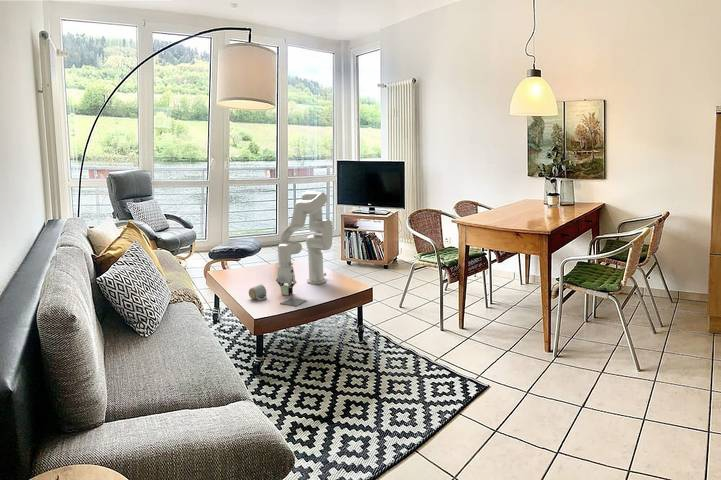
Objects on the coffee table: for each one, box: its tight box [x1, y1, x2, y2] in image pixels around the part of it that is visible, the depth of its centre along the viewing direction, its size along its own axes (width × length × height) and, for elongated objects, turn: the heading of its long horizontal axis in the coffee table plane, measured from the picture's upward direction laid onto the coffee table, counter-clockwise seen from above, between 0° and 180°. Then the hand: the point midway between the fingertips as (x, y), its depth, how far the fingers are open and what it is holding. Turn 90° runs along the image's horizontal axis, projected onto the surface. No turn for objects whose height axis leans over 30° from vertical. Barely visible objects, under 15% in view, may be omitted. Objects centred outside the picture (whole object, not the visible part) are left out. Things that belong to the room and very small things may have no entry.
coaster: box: [279, 297, 308, 307], centre depth 272 cm, size 11×11×1 cm
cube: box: [280, 283, 291, 296], centre depth 288 cm, size 5×5×5 cm
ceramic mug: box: [248, 284, 267, 302], centre depth 280 cm, size 11×8×8 cm
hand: (286, 292), depth 288 cm, fingers closed on cube, 5 cm apart
